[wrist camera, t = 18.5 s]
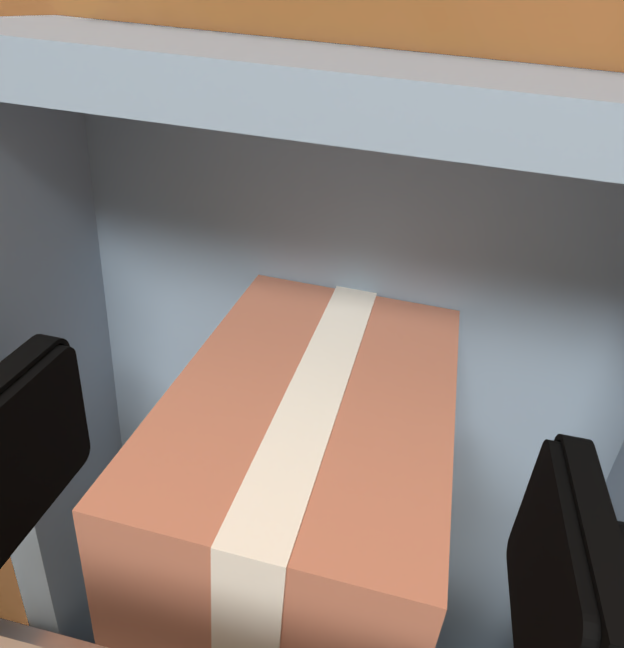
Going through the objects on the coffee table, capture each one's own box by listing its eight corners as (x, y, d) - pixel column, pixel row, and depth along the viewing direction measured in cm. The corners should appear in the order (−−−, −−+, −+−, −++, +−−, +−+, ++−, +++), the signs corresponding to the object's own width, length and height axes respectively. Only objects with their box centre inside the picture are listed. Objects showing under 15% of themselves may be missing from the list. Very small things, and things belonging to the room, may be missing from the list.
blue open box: (126, 573, 24) (49, 699, 19) (54, 15, 14) (-135, 19, 9) (536, 686, 21) (552, 862, 17) (818, 92, 11) (1036, 149, 7)
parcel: (259, 272, 15) (69, 510, 8) (460, 308, 14) (447, 610, 7) (252, 429, 17) (105, 714, 10) (422, 467, 16) (386, 805, 9)
